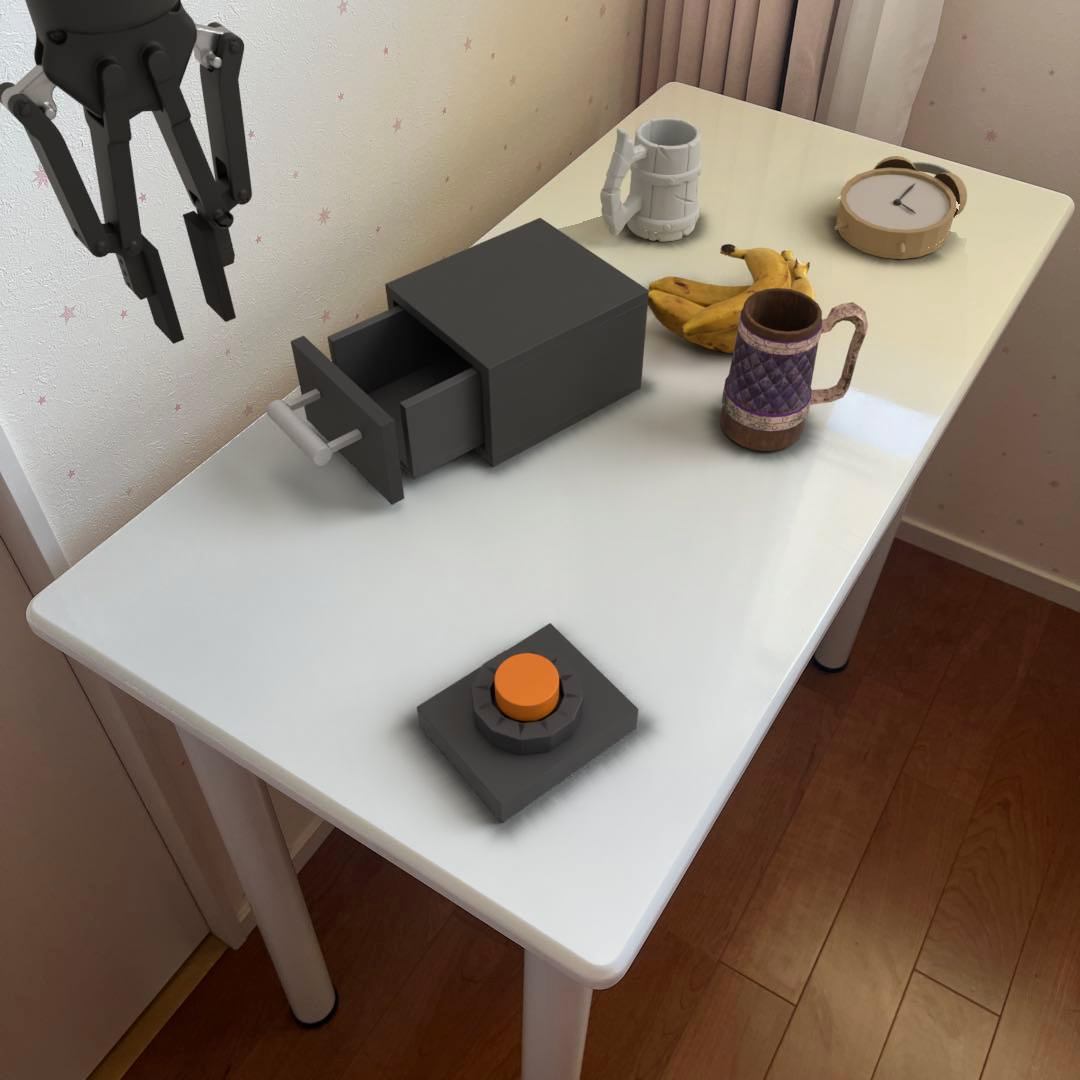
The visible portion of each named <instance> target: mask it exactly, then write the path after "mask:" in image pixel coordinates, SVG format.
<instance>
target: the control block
mask: <svg viewBox="0 0 1080 1080" xmlns="http://www.w3.org/2000/svg"><path fill="white" fill-rule="evenodd" d="M523 653H531V654H537V655H540V656H542V657H544V658H546V659H548V660H549V661H550V662H551V663H552V664H553V665H554V666H555V668H556V669H557V672H558V675H559V699H558V702H557V705H556V706H555V708H554V709H553V711H552V712H551V713H549V714H548V715H547V716H545V717H543V718H541V719H539V720H535V721H519V720H515V719H512V718H510V717H508V716H507V715H506V714H504V713H503V712H502V711H501V709H500V708H499V707H498V705H497V702H496V698H495V682H494V679H495V674H496V671H497V669H498V667H499V666H500V665H501V664H502V663H503V662H504V661H505V660H506V659H508V658H510V657H512V656H514V655H518V654H523ZM416 713H417V718H418V719H417V720H418V725H419V728H421V730H422V731H423V733H425V735H427V737H428V738H429V739H430V740H431V741H432V742H433V744H434V745H435V746H436V747H437V748H438V750H439V751H440V752H441V753H442V754H443V756H444V757H445V758H446V759H447V760H448V761H449V763H450V764H451V765H452V766H453V767H454V769H455V770H456V771H457V772H458V773H459V774H460V775H461V777H462V778H463V779H464V780H465V782H467V784H468V785H469V786H470V787H471V788H472V789H473V791H474V792H475V793H476V794H477V796H478V797H479V798H480V799H481V800H482V801H483V802H484V804H485V805H486V806H487V808H489V810H490V811H491V812H492V813H493V815H495V816H496V818H497V819H498V820H499V821H500V822H501V823H502V824H503V823H505V822H506V821H508V820H509V819H510V818H512V817H513V816H514V815H516V814H517V813H519V812H520V811H522V810H523V809H525V808H526V807H527V806H529V805H530V804H531V803H533V802H534V801H536V800H537V799H538V798H540V797H541V796H543V795H544V794H545V793H547V792H549V790H552V788H554V787H555V786H556V785H558V784H560V783H561V782H562V781H564V780H565V779H566V778H568V777H570V776H571V775H573V773H575V772H576V771H578V770H579V769H581V768H582V767H584V766H585V765H587V764H588V763H590V761H592V760H594V759H595V758H596V757H597V756H599V755H600V754H602V753H603V752H605V751H607V749H609V748H610V747H612V746H613V745H615V744H616V743H617V742H619V741H620V740H622V739H623V738H624V737H626V736H627V735H628V734H630V733H632V732H633V731H634V730H636V729H637V728H638V727H637V726H638V717H639V708H638V707H637V706H636V705H635V704H634V703H633V702H632V701H631V700H630V699H629V698H628V697H627V696H626V695H625V694H624V693H623V692H622V691H621V690H619V688H618V687H617V686H615V684H614V683H612V682H611V681H610V680H609V678H607V676H606V675H604V674H603V673H602V672H601V671H600V670H599V669H598V668H597V667H596V666H595V664H593V663H592V662H591V661H590V660H589V659H588V658H587V657H586V656H585V655H584V654H583V653H582V652H581V651H580V650H579V649H578V648H577V647H576V646H575V645H573V644H572V643H571V641H569V639H567V637H566V636H565V635H563V634H562V633H561V632H560V631H559V630H558V629H557V628H556V627H555V626H554V625H553V624H552V623H551V622H549V623H548V624H546V625H544V626H543V627H541V628H539V629H538V630H537V631H535V632H533V633H532V634H530V635H528V636H527V637H525V638H523V639H522V640H521V641H519V642H517V643H516V644H514V645H513V646H511V647H509V648H508V649H505V650H503V651H502V652H500V653H499V654H497V655H495V656H493V657H492V658H491V659H489V660H487V661H486V662H484V663H483V664H481V666H479V667H477V668H476V669H474V670H473V671H472V672H470V673H468V674H466V675H465V676H464V677H461V678H460V679H459V680H457V681H455V682H453V683H452V684H451V685H449V686H447V687H446V688H444V689H443V690H441V691H439V692H438V693H436V694H435V695H433V696H431V697H430V698H428V699H427V700H425V701H423V702H422V703H420V704H418V705H417V706H416Z"/></svg>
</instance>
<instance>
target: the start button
mask: <svg viewBox="0 0 1080 1080" xmlns="http://www.w3.org/2000/svg"><path fill="white" fill-rule="evenodd" d="M494 682H495V698H496V702H497V705H498V707H499V708H500V709H501V711H502V712H503V713H504V714H506V715H507V716H508V717H510V718H512V719H515V720H519V721H535V720H539V719H541V718H543V717H545V716H547V715H548V714H549V713H551V712H552V711H553V709H554V708H555V706H556V705H557V702H558V699H559V675H558V672H557V669H556V668H555V666H554V665H553V664H552V663H551V662H550V661H549V660H548V659H546V658H544V657H542V656H540V655H537V654H531V653H523V654H518V655H514V656H512V657H510V658H508V659H506V660H505V661H504V662H503V663H502V664H501V665H500V666H499V667H498V669H497V671H496V674H495V679H494Z"/></svg>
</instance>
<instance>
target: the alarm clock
mask: <svg viewBox="0 0 1080 1080" xmlns="http://www.w3.org/2000/svg"><path fill="white" fill-rule="evenodd" d="M928 173H929V174H928ZM930 174H932V175H934V176H932V175H930ZM967 200H968V191H967V186H966V184H965V182H964V181H963V180H962V179H961V177H959V176H958V175H957V174H955V173H953V172H952V171H950V170H949V169H947V168H945V167H943V166H941V165H938V164H934V163H930V162H923V161H916V162H915V161H914V162H913V161H911V160H910V159H908V158H906V157H904V156H900V155H893V156H888V157H886V158H883V159H882V160H880V161H879V162H878V163H877V164H876V165H875V166H874V168H873V169H870V170H867V171H864V172H860V173H858V174H856V175H854V177H852V178H850V179H848V180H847V182H845V184H844V186H843V187H842V189H841V192H840V200H839V204H838V205H839V206H838V210H839V213H838V212H837V213H836V224H835V226H834V227H833V230H834V231H838V233H839V235H840V237H841V238H842V239H843V240H844V241H845V242H847V244H848V245H850V247H853V248H855V249H857V250H859V251H860V252H863V253H865V254H868V255H872V256H875V257H879V258H882V259H894V260H895V259H896V260H906V259H914V258H921V257H923V256H926V255H929V254H932V253H934V252H936V251H937V250H938V249H940V248H941V247H942V246H944V245H945V243H946V241H947V240H948V238H949V236H950V234H951V228H952V224H953V221H954V219H955V218H956V217H957V216H956V215H958V214H959V215H960V214H961V213H962V212H963V211H964V209H965V208H966V205H967V202H968V201H967ZM956 201H957V202H958V204H960V206H959V210H958V209H957V208H956ZM959 215H958V216H959ZM955 216H956V217H955ZM838 219H839V220H838ZM839 221H840V222H841V223H840V222H839ZM949 230H950V231H949ZM948 232H949V233H948ZM947 234H948V235H947ZM943 239H944V240H943ZM942 240H943V241H942ZM940 241H941V242H940ZM939 242H940V243H939ZM936 244H937V245H936ZM928 247H929V248H928Z"/></svg>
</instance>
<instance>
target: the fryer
mask: <svg viewBox="0 0 1080 1080" xmlns="http://www.w3.org/2000/svg"><path fill="white" fill-rule="evenodd" d="M384 287H385V294H386V302H387V310H389V309H391V308H394V307H396V306H398V305H400V306H401V307H403V308H404V309H405V310H406V311H407V312H409V313H410V314H411V315H412V316H413V317H415V318H416V319H417V320H418V321H419V322H421V323H422V324H423V325H424V326H425V327H427V328H428V329H429V330H430V331H432V332H433V333H434V334H435V335H436V336H438V337H439V338H440V339H441V340H442V341H444V342H445V343H446V344H447V345H448V346H450V347H451V348H452V349H453V350H454V351H456V352H457V353H458V354H459V355H460V356H462V357H463V358H464V359H465V360H467V361H468V362H469V363H470V364H471V365H473V366H474V367H475V368H476V369H477V370H479V371H480V372H481V378H482V396H483V415H484V433H485V443H483V444H481V445H479V446H477V447H476V448H474V449H473V450H474V451H475V453H477V454H478V455H479V456H480V457H481V458H482V459H483V460H484V461H486V462H487V463H488V464H489V465H490V466H491V467H493V468H494V467H496V466H498V465H500V464H502V463H503V462H505V461H507V460H508V459H511V458H512V457H515V456H517V455H518V454H520V453H523V452H524V451H526V450H528V449H530V448H531V447H533V446H535V445H537V444H539V443H541V442H543V441H545V440H546V439H548V438H550V437H552V436H554V435H556V434H557V433H559V432H562V431H563V430H565V429H567V428H569V427H570V426H572V425H575V424H576V423H578V422H580V421H581V420H583V419H585V418H587V417H589V416H591V415H593V414H594V413H596V412H598V411H601V410H603V409H604V408H606V407H607V406H609V405H612V404H614V403H615V402H617V401H619V400H621V399H623V398H624V397H626V396H628V395H630V394H632V393H634V392H635V391H637V390H639V389H641V388H642V378H643V368H644V355H645V344H646V331H647V319H648V308H649V306H648V295H649V291H650V290H649V289H647V288H646V287H645V286H643V285H641V284H640V283H639V282H637V281H635V280H634V279H632V278H631V277H630V276H628V275H627V274H625V273H624V272H622V271H621V270H619V269H618V268H617V267H614V266H613V265H612V264H611V263H609V262H607V261H606V260H605V259H603V258H601V257H600V256H598V255H597V254H595V253H594V252H593V251H591V250H590V249H588V248H587V247H586V246H583V245H582V244H581V243H579V242H577V241H576V240H575V239H574V238H572V237H570V236H568V235H567V234H566V233H564V232H562V231H561V230H559V229H558V228H557V227H555V226H553V225H552V224H550V223H549V222H548V221H546V220H545V219H544V218H542V217H538V218H536V219H533V220H531V221H529V222H526V223H524V224H522V225H520V226H517V227H515V228H511V229H510V230H508V231H506V232H503V233H501V234H498V235H496V236H494V237H492V238H489V239H487V240H484V241H482V242H479V243H477V244H475V245H473V246H471V247H468V248H465V249H463V250H461V251H459V252H457V253H454V254H451V255H449V256H447V257H445V258H442V259H440V260H438V261H435V262H433V263H431V264H428V265H426V266H424V267H421V268H419V269H416V270H414V271H412V272H410V273H407V274H405V275H403V276H400V277H398V278H395V279H393V280H391V281H389V282H386V283H385V284H384Z"/></svg>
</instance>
